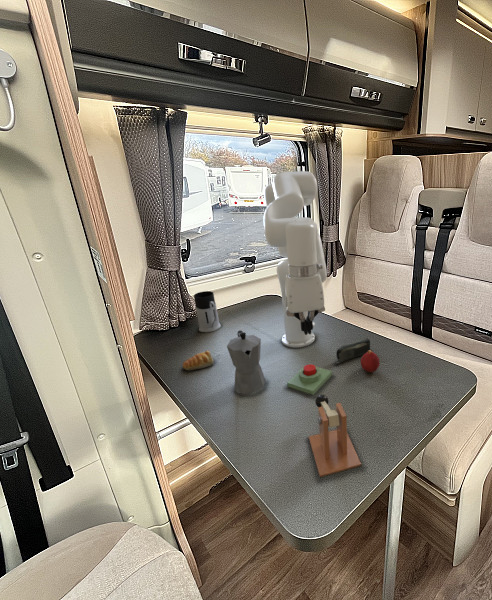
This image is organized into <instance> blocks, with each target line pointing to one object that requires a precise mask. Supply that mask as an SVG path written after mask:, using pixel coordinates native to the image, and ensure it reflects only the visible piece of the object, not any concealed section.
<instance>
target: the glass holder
mask: <svg viewBox="0 0 492 600" xmlns="http://www.w3.org/2000/svg"><path fill="white" fill-rule="evenodd" d="M193 299H194V303H195V304H194V305H195V306H194V307H195V311H196V316H197V321H198V331H199V332H201V333H211V332H214V331H217V330H219V329H220V328H221V326H222V325H221V323H220V320H219V314H218V309H217V304H216V300H215V294H214V292H213V291H211V290H204V291H199V292H195V294H193Z"/></svg>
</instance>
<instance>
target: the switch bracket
mask: <svg viewBox="0 0 492 600" xmlns="http://www.w3.org/2000/svg"><path fill="white" fill-rule="evenodd" d="M343 407H344V406H343V405H342V403H341V402H337V403H335V410H336V412H337V413H338V416H339V424H340V425H338V426H336V429H333V430H329V425H328V419H327V417H326V413H325V411H324V409H323V407H317V412H318V418H317V422H318V427H319V428H318V429H319V433H317V434H313V435H309V436H308V440H309V444H310V447H311V451H312V454H313V458H314V461H315V465H316V468H317V473H318V475H319V478H320V477H324V476H328V475H333V474H336V473H339V472H342V471H346V470H350V469H354V468H357V467H360V466H361V467H362V463H361V460H360V458H359V456H358V453H357V452H356V449H355V447H354V444H353V443H352V440H351V437H350V435H349V433H348V427H347V425H348V424H347V423H348V420H347V412H346V411H345V409H344V408H343Z"/></svg>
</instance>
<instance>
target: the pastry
mask: <svg viewBox="0 0 492 600" xmlns="http://www.w3.org/2000/svg"><path fill="white" fill-rule="evenodd" d="M214 363H215V362H214V358H213V356H212V354H211V352H210V351H209V350H205V351H202V352H198V353H196V354H194V355H193V356H192V357H189V358H188V359H186V360H185V361H183V363H182V369H183V370H185V371H194V370H200V369H204V368H206V367H210V366H212V365H213V364H214Z"/></svg>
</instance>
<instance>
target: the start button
mask: <svg viewBox="0 0 492 600" xmlns="http://www.w3.org/2000/svg"><path fill="white" fill-rule="evenodd" d="M308 364H309V365H307V364H305V365H304V366H303V367H304V374H305V375H307V376H312V375H314V374H315V373H316V367H315V366H316V365H315V364H310V363H308Z"/></svg>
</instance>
